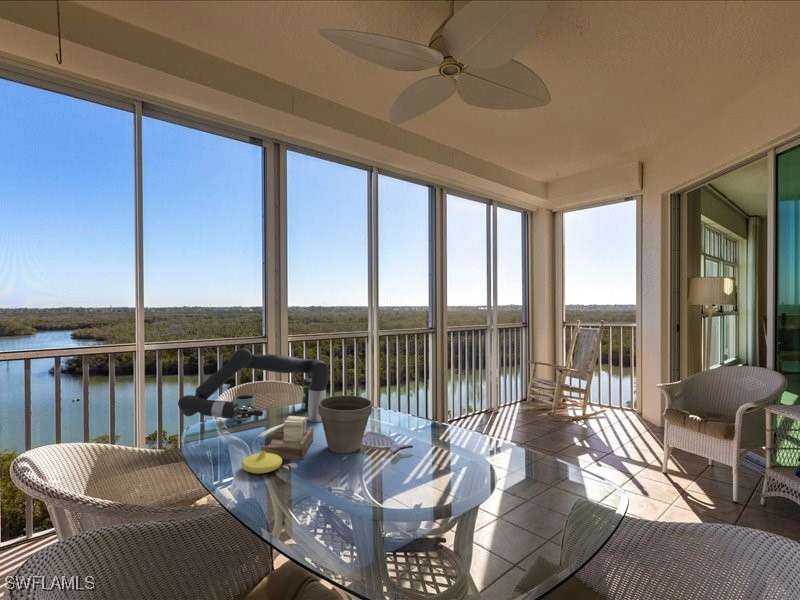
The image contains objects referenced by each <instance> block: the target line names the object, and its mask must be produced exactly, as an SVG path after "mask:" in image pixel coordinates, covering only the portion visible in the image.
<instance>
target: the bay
mask: <svg viewBox="0 0 800 600" xmlns="http://www.w3.org/2000/svg"><path fill="white" fill-rule="evenodd" d="M314 430H315V429H314V426H309V429H308V430H307V431H306V435H305V436H304V438H303V439H302V441H301V442H300V448H293V447H283V439H284V430H279V429H277V430H275V431H274V438H273V439H272V440H271V441H270V442H269V444H268V445H262V446H261V448H260V451H265V453H273V454H276V455H278V456H280V457H281V459H282V460H301V461H303V459H304V458H305V456H306V455H307V453H308V451H309V449H310V447H311V446H312V444H313V442H314Z"/></svg>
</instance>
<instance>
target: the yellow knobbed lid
mask: <svg viewBox="0 0 800 600" xmlns="http://www.w3.org/2000/svg"><path fill="white" fill-rule="evenodd" d="M282 463H283V459H281V457H280V456H278V455H276V454H273V453H265V451H261V450H260V451H259V453H258V452H257V453H254V454H251V455H250V454H249V455H247V456H246V457H245V458H244V459H243V460H242V461H241V463H240V464H241V467H242V470H244V471H246V472H248V473H251V474H256V475H257V474H258V475H259V474H260V475H261V474H267V473H270V472H273V471H276V470H277V469H279V468H280V467H281V466H282Z"/></svg>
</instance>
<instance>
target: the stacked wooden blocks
mask: <svg viewBox="0 0 800 600" xmlns="http://www.w3.org/2000/svg"><path fill="white" fill-rule="evenodd" d="M307 422H308V419H307V416H295V415H288V417H287V418H286V419H285V420H284V423H283V431H284V439H283V447H293V448H300V442H301V441H302V439H303V438H304V436H305V435H306V432H307Z"/></svg>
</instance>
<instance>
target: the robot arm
mask: <svg viewBox="0 0 800 600" xmlns="http://www.w3.org/2000/svg"><path fill="white" fill-rule="evenodd" d="M241 369H249V370H250V369H251V370H252V369H253V370H260V371H265V372H266V371H267V372H273V373H279V374H280V373H281V374H292V373H304V374H308V375H311V378H312V382H311V383H310V385H309V401H308V410H307V422H311V423H322V419H321V416H320V415H319V410H318V403H319V401H320V400H322V399H324V398H327V397H326V396H327V395H326V394H327V386H328V379H329V365H328V364H327V363H326V362H325V361H323V360H320V359H307V358H306V359H304V358H298V357H294V356H290V355H285V354H254V353H252V352H251V351H250V350H249V349H248V348H238V349H236V350H234V352H232V353H231V354H230V356H229V358H228V361H227V362H226V363H225V364H224V365H223V366H222V367H221V368H219V369H218V370H217V371H216V372H214V373H213V374H212V375H210V376H208V378H207V379H205V380H204V381H203V382H202V383H201V384H199V385H198V386H197V387H196V388H195V394H194V395H193V394H191V395H187V394H186V395H184V396H181V397H180V398H179V400H178V402H177V405H178V408H179V410H180V411H181V413H182V415H184V416H185V417H192V416H194V415H195V414H197V413H199V414H200V415H201V416H206V417H214V418H219V419H227V420H234V419H235V416H237V419H240V418H248V417H251V416H252V417H254V416H255V417H262V416H263V415H264V411H263V410H260V409H256V407H254V405H253V406H251V405H247V407H245V406H238V404H237V402H235V401H229V400H228V401H227V400H215V399H209V398H210V397H211V396H212V395H213V394H214V393H216V391H218V390H219V389H220V387H222V386H223V385H224V384H225V383H226V382H227V381H229V379H230V378H231V377H232V376H234V375H235V374H236V373H237V372H239V371H240V370H241ZM252 417H251V418H252Z"/></svg>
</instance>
